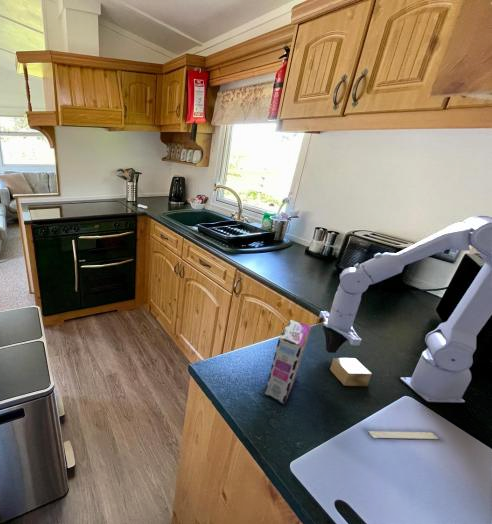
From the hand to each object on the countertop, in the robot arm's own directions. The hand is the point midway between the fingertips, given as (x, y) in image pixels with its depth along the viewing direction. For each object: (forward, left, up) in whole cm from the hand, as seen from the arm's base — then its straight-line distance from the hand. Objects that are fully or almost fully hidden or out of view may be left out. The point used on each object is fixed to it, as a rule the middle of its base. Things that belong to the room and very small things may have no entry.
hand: (330, 351), depth 84 cm
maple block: (0, +8, -2) cm, 8 cm away
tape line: (0, +25, -2) cm, 25 cm away
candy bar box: (+20, +12, -2) cm, 24 cm away
